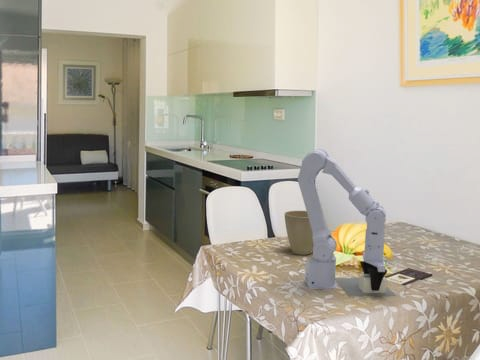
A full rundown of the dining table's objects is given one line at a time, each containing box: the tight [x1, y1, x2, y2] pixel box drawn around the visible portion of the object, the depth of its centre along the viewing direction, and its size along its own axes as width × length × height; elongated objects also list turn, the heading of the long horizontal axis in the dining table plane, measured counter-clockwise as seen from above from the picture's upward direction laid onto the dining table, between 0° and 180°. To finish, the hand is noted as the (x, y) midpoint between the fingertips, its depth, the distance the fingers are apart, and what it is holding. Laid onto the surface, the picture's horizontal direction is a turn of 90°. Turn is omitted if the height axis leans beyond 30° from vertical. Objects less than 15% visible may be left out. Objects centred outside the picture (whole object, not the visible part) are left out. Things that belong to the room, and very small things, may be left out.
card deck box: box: [358, 273, 387, 293], centre depth 154 cm, size 7×5×5 cm
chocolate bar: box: [384, 267, 433, 286], centre depth 169 cm, size 9×1×18 cm
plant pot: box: [283, 210, 314, 256], centre depth 197 cm, size 15×15×16 cm
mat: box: [335, 277, 397, 298], centre depth 158 cm, size 15×17×1 cm
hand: (372, 287), depth 154 cm, fingers closed on card deck box, 5 cm apart
